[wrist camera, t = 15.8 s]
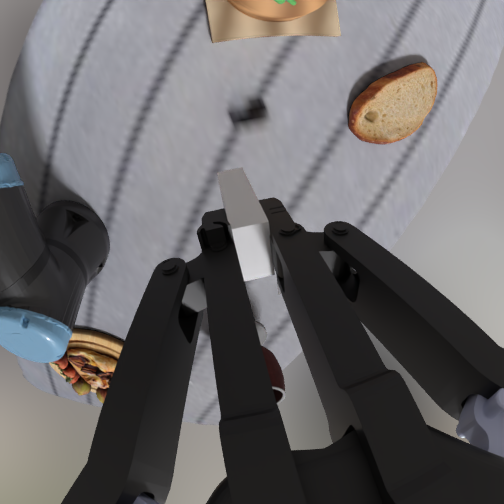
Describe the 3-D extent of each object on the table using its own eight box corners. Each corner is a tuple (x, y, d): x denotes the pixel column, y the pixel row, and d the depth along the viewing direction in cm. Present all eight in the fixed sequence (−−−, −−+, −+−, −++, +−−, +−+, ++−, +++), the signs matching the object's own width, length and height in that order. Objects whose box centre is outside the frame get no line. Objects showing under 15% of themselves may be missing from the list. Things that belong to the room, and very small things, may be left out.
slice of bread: (434, 68, 34) (448, 71, 31) (418, 153, 44) (430, 159, 41) (357, 34, 30) (370, 33, 27) (341, 136, 41) (353, 142, 38)
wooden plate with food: (150, 333, 58) (148, 363, 52) (156, 395, 75) (156, 418, 69) (30, 316, 50) (19, 341, 44) (64, 381, 67) (59, 403, 60)
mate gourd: (263, 352, 69) (282, 420, 53) (209, 354, 66) (219, 428, 50) (276, 311, 61) (303, 390, 45) (213, 313, 57) (225, 399, 42)
